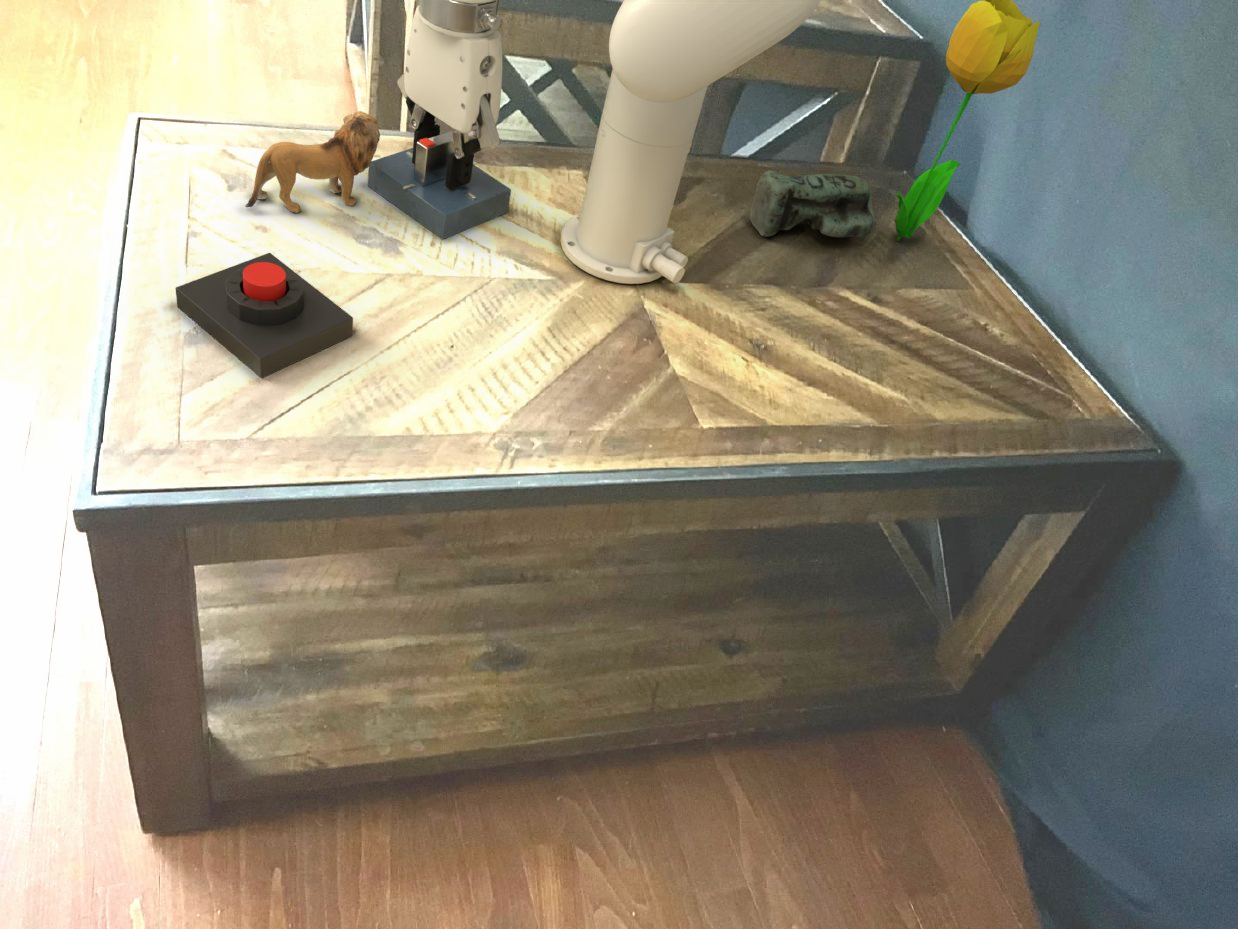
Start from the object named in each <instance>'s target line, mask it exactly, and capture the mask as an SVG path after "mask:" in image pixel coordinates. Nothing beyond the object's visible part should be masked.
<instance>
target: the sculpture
mask: <svg viewBox="0 0 1238 929" xmlns="http://www.w3.org/2000/svg"><path fill="white" fill-rule="evenodd" d="M872 193H873V192H872V188H871V187H870V185H869V184H868V183H867V182H866V180H865V179H864V178H861V177H859V176H857V175H849V174H838V173H837V174H833V173H825V174H821V173H820V174H807V175H784V174H781V173H780V172H778V171H775V170H767V171H765V172H764V173H763V174H762V175H761V176H760V178H758V181H757V185H756V190H755V192H754V197H753V201H752V204H751V208H750V212H749V218H750V222H751V224H752V226H753V227H754V228H755V229H756V231H757V232H758V233H759V234H760V236H762V237H766V238H768V237H772V236H774V235H776V234H777V233H778V232H779V231H789V230H791V229H792V228H794V227H795V226H797V225H798V224H801V223H803V222H805V223H808V224H809V227H810V228H811V229H812V230H814V231H815V230H816V231H819V232H820V233H821V234H822V235H824V236H827V237H831V238H832V237H833V238H848V237H849V238H850V237H852V238H866V237H868V235H870V233H871V232H872V230H873V227H874V225H875V223H876V219H875V212H874V210H873V204H872V203H873V202H872V200H873V199H872Z"/></svg>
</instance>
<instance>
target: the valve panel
mask: <svg viewBox="0 0 1238 929" xmlns="http://www.w3.org/2000/svg"><path fill="white" fill-rule="evenodd" d="M412 155H413V147H411V148H407V149H404V150H402V151H399V152H396V153H393V154H389V155H386V156H384V157H380V158H378V159H375V160H372V161H371V163H370V166H369V167H368V173H367V174H368V175H367V187H368V188H369V189H372V190H373V191H374V192H375V193H377V194H378V195H379V196H381V197H382V198H384V199H385V200H386V201H388V202H390V203H391V204H392V205H394V206H395V207H396V208H398V209H399V210H401V212H403V213H405V214H406V215H408V216H410V218H412V219H413V220H415V221H416V222H417V223H419V224H420V225H422V226H423V227H424V228H426V229H427V230H428V231H430V232H431V233H433V234H435V236H437V237H438V238H440V239H441V240H444V239H445V240H446V239H448V238H450V237H452V236H455V235H457V234H460V233H461V232H464V231H467V230H469V229H471V228H474V227H476V226H478V225H481V224H484V223H486V222H488V221H490V220H493V219H496V218H498V217H500V216H502V215H505V214H507V213H508V212H509V206H510V199H511V193H512V189H511V188H509V187H508V186H507V185H505V184H504V183H503V182H501V181H500V180H498V179H496V178H495V177H493V176H492V175H490V174H488V173H487V172H485V171H484V170H483V169H481V168H480V167H479V166H477V164H478V163H477V162H476V161H475V160H473V167H472V175H471V181H470V182H469V183H468V184H465V185H463V186H460V187H457V188H454V189H451V190H450V189H449V188H447V187H446V179H443V180H440V181H437V182H435V183H432V184H429V185H426V186H422V185H421V184H419V183H418V182H417V181H415V180H414V172H415V165H414V164H413V163H412Z"/></svg>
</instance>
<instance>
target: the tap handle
mask: <svg viewBox="0 0 1238 929" xmlns="http://www.w3.org/2000/svg"><path fill="white" fill-rule="evenodd" d="M467 141H469V140H468V134H464V143H466V142H467ZM452 153H454V150H453V136H452V130H451V131H448V132H445V133H440V135H438V136H435V137H431V138H424V139H421V140H419V142H417V148H416V160H415V172H414V180H415V181H417V182H418V183H419V184H421V185H422V186H426V185H429V184H432V183H435V182H437V181H440V180H443V179H446V175H447V166H448V157H449V155H450V154H452Z"/></svg>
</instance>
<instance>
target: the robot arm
mask: <svg viewBox="0 0 1238 929" xmlns="http://www.w3.org/2000/svg"><path fill="white" fill-rule="evenodd" d="M820 2H821V0H622V3H621V5H620V7H619V9H618V10H617V12H616V14H615V17H614V19H613V22H612V25H611V27H610V28H611V29H610V32H609V40H608V54H609V55H608V56H609V61H610V64H611V68H612V69H611V74H610V77H609V81H608V87H607V90H606V95H605V99H604V104H603V109H602V112H601V117H600V121H599V126H598V131H597V135H596V139H595V144H594V149H593V154H592V157H591V158H592V159H591V163H590V167H589V172H588V176H587V180H586V186H585V190H584V196H583V200H582V205H581V209H580V214H577V215H575V216H573V217H571V218H570V219H569V220H568V221H567V222H565V224H564V225H563V227H562V231H561V235H560V245H561V249H562V251H563V253H564V254H565V256H566V257H567V258H568V259H569V260H570V262H572V264H574V265H575V266H577V268H579V269H580V270H582V271H584V272H586V274H589V275H591V276H594V277H596V278H598V279H601V280H604V281H609V282H613V283H617V284H626V285H640V284H645V283H646V284H647V283H651V282H653V281H656V280H658V279H660V278H661V277H663V278H664V279H665V278H666V279H667V280H668V281H670V282H671V283H673V284H678V283H679V282H680V281H682V279H683V277H684V275H685V272H686V269H685V267H686V265H687V264H688V262H689V257H688V256H687V255H685V254H683V253H682V252H680V251H678V250H676V249H674V246H673V244H672V242H673V238H674V236H675V231H674V230H673V229H672V228H670V227H669V226H668V224H669V221H670V217H671V214H672V210H673V207H674V203H675V200H676V196H677V193H678V189H679V186H680V182H681V178H682V177H683V172H684V169H685V165H686V163H687V158H688V155H689V151H690V148H691V144H692V140H693V138H694V135H695V132H696V129H697V126H698V122H699V118H700V115H701V111H702V109H703V105H704V100H705V99H706V98H705V97H706V94H707V90H708V87H709V86H710V85H711V84H713V83H715V82H717V81H718V80H719V79H721V78H723V77H725V76H726V75H728V74H729V73H731V72H733V71H735V70H736V69H738V68H740V66H742V65H744V64H746V63H747V62H749V61H750V60H752V59H754V58H755V57H757V56H758V55H760V54H762V53H764V52H765V51H767V50H768V49H770V48H772V47H773V46H774V45H777V44H778V43H779V42H781V41H783V40H784V39H785V38H787V37H789V36H790V35H791V34H792V33H793V32H795V31H796V30H797V29H798V28H800V27H801V26H802V25H803V24H804V23H805V21H807V20H808V18H810V17H811V15H812V14H813V13H814V11H815V10H816V9H817V7H818V6H819V4H820ZM499 3H500V0H418V5H417V6H416V8H415V12H414V15H413V18H412V23H411V26H410V30H409V36H408V41H407V47H406V55H405V62H404V72H403V73H402V75H400V76H399V78H397V82H396V83H397V87H398V88H399V90H400V92H401V94H402V95H403V98H404V99H405V105H406V106H407V109H408V111H409V114H410V116H411V117H410V120H409V122H410V126H411V127H412V129H414V131H413V132H414V133H413V145H412V148H413V155H412V163H413V164H414V165H415V160H416V148H417V142H419V140H421V139H424V138H431V137H435V136H438V135H441V126H440V125H439V124H437V122H438V120H440V121H442V122H443V123H444V124H446V125H447V126H449V127H450V128H451V131H452V136H453V150H454V153H452V154H450V155H449V157H448V166H447V175H446V187H447V188H449V189H450V190H451V189H454V188H457V187H460V186H463V185H465V184H468V183H469V182H470V181H471V175H472V167H473V162H474V157H475V154H478V153H480V152H481V151H483V150H484V149H488V148H491V147H494V146H497V145H499V144H501V137H500V134H499V131H498V128H497V126H496V125H497V124H498V120H499V116H500V108H501V100H502V89H503V88H502V87H503V86H502V85H503V46H502V45H503V43H502V34H501V32H499V31H498V30H500V28H501V26H502V23H503V22H502V21H503V20H502V18H501V17H500V16H498V11H499V5H500V4H499ZM464 134H468V140H469V141H467V142H466V143H464Z"/></svg>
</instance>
